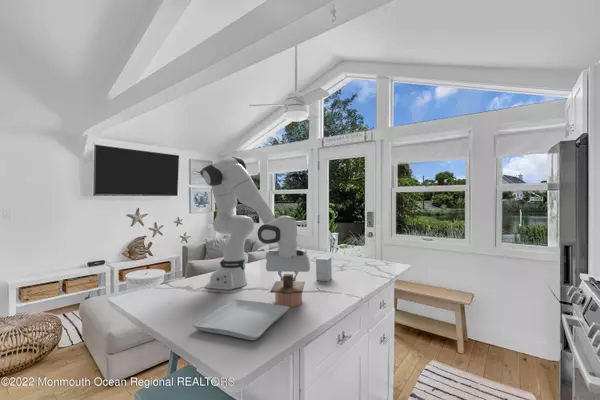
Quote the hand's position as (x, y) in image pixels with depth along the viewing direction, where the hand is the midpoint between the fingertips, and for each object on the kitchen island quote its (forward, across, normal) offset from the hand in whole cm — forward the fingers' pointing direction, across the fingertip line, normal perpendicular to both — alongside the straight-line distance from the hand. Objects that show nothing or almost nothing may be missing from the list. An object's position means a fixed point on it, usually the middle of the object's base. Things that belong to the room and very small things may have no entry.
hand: (288, 280), depth 131 cm
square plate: (+10, -14, -22) cm, 29 cm away
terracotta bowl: (+10, 0, 0) cm, 10 cm away
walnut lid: (+3, 0, 0) cm, 3 cm away
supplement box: (+10, +16, +37) cm, 42 cm away
